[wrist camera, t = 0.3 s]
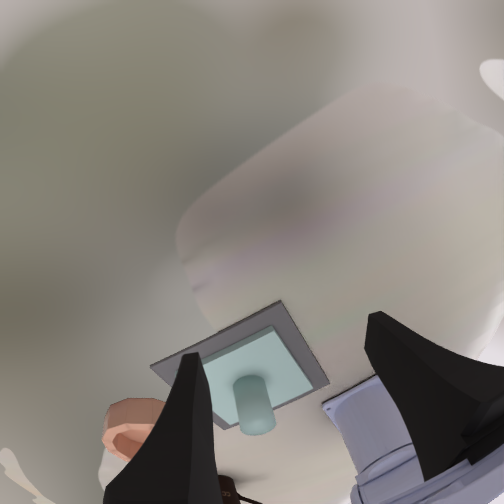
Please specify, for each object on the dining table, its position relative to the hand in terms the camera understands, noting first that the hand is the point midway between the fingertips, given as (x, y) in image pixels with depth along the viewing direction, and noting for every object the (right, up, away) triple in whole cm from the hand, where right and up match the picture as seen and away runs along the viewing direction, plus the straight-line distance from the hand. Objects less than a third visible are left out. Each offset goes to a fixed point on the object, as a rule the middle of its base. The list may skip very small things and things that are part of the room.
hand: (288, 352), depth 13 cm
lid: (-2, -7, +14) cm, 16 cm away
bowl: (-12, -13, +16) cm, 24 cm away
